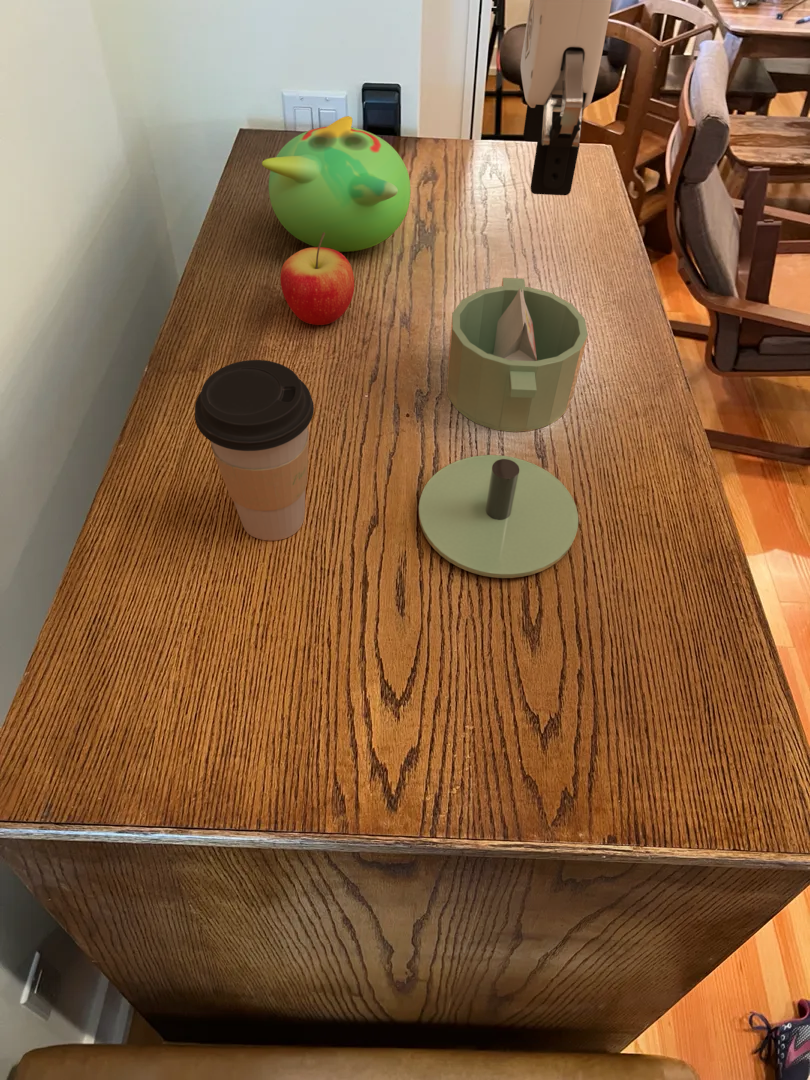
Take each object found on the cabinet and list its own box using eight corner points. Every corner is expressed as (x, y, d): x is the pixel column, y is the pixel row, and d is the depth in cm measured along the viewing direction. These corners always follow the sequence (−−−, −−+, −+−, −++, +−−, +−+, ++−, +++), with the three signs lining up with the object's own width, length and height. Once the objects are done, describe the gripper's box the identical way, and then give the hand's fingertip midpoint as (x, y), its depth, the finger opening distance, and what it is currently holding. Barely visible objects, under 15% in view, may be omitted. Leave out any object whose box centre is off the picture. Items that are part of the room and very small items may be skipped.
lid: (567, 466, 77) (581, 415, 72) (584, 586, 67) (601, 537, 62) (420, 460, 77) (422, 408, 72) (416, 578, 67) (418, 529, 62)
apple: (368, 311, 93) (367, 233, 85) (326, 346, 88) (320, 267, 81) (314, 289, 96) (308, 212, 88) (270, 322, 91) (260, 243, 83)
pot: (562, 340, 90) (576, 274, 84) (579, 452, 78) (598, 386, 72) (446, 335, 90) (452, 269, 84) (446, 446, 78) (452, 380, 72)
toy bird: (414, 217, 108) (418, 104, 96) (401, 283, 97) (404, 165, 86) (287, 207, 109) (277, 94, 97) (261, 272, 98) (245, 154, 86)
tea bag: (493, 406, 82) (505, 326, 74) (491, 366, 86) (502, 286, 78) (528, 407, 82) (543, 327, 74) (524, 367, 86) (538, 288, 78)
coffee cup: (336, 540, 70) (327, 414, 58) (234, 569, 68) (204, 444, 56) (306, 470, 75) (292, 343, 64) (211, 495, 73) (179, 367, 62)
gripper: (523, -120, 58) (497, 121, 71) (540, -57, 47) (505, 214, 60) (623, -116, 58) (578, 124, 71) (664, -52, 47) (601, 218, 60)
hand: (545, 165), depth 65 cm, fingers open, 9 cm apart
